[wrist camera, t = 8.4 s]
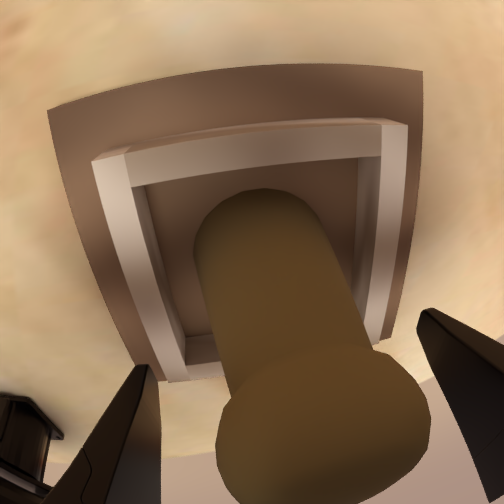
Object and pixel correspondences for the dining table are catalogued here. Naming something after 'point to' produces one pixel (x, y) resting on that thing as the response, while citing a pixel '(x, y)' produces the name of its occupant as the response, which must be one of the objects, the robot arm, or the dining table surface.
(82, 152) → the socket board
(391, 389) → the cork
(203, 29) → the dining table surface
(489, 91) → the dining table surface
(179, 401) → the dining table surface
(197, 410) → the dining table surface
